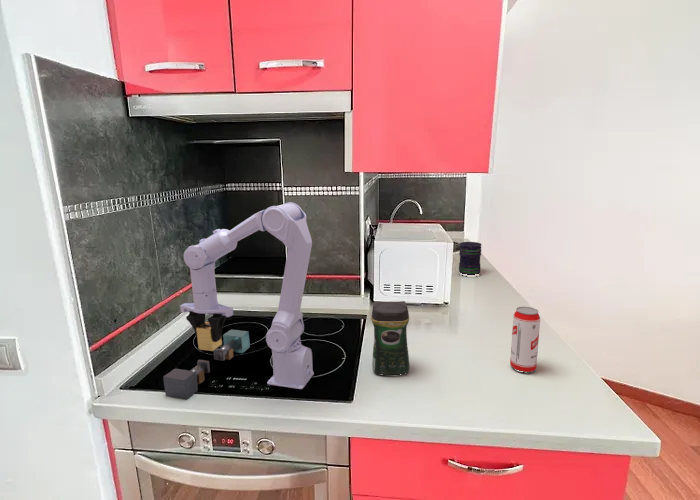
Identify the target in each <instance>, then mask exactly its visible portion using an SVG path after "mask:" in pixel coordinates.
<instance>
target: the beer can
mask: <svg viewBox="0 0 700 500" xmlns="http://www.w3.org/2000/svg"><path fill="white" fill-rule="evenodd" d="M512 317H513V318H512V332H511V347H510V358H509V359H510V360H509V364H510V367H511V366H512V367H513V368H514V369H516V370H519V371H523V372H531V373H533V372H535V371H536V369H537V363H538V362H537V361H538V353H539V352H538V351H539V339H540V338H539V337H540V328H541V327H540V326H541V316H540V315H539V310H538V309H536V308H534V307H531V306H518V307H517V308H516V309H515V312H514V313H513V316H512ZM512 367H511V368H512ZM513 368H512V369H513ZM514 369H513V370H514ZM534 370H535V371H534ZM532 371H533V372H532Z"/></svg>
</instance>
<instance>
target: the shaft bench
mask: <svg viewBox="0 0 700 500" xmlns="http://www.w3.org/2000/svg"><path fill="white" fill-rule="evenodd" d="M222 337H223V340H222V341H223V345H222V346H221V347H220V348H219V347H217V348H216V349H215V350H213V351H212V352H213V353H212V354H213V359H214V360H216V361H222V362H223V361H225V360H228V361H230V360H232V358H234V353H238V354H244V353H245V352H246V351H247V350H248V349H249V348H251V346H250V333H249V331H247V330H240V329H230V330H228V331H226V332H225V333H224V334H222ZM196 364H197V365H196V366H195V367H193V368H191V369H190V370H187V369H180V368H174V369H172V370H171V371H170V372H168V373H166V374H164V375H163V376H162V380H163V387H164V394H165V397H170V398H176V399H180V400H186V401H187V400H188V399H190V398H191V397H192V396H193V395H194V394H196V393H197V392H198V391H199V388H198V385H200V384H202V383H203V382H204V381H205V380H206V379H205V374H209V373H210V372H211V368H210V360H204V359H198V360H197V361H196Z"/></svg>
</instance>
